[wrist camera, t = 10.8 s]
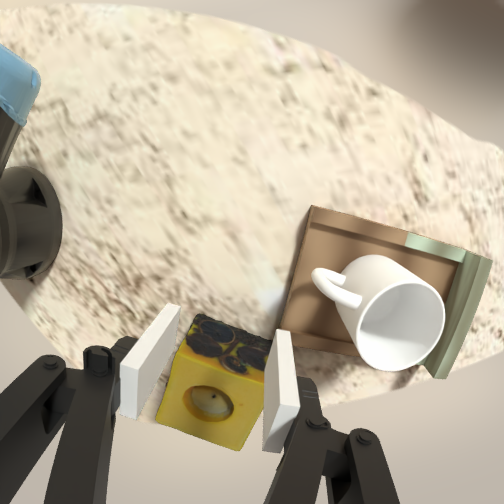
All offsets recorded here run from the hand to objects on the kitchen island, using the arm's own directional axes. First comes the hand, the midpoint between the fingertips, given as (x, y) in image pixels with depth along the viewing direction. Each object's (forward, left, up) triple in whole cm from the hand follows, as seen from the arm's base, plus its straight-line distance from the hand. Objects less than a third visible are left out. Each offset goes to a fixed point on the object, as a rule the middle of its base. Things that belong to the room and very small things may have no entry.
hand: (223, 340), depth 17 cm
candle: (0, -13, -19) cm, 23 cm away
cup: (+12, +1, -17) cm, 21 cm away
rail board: (+16, 0, -19) cm, 25 cm away
